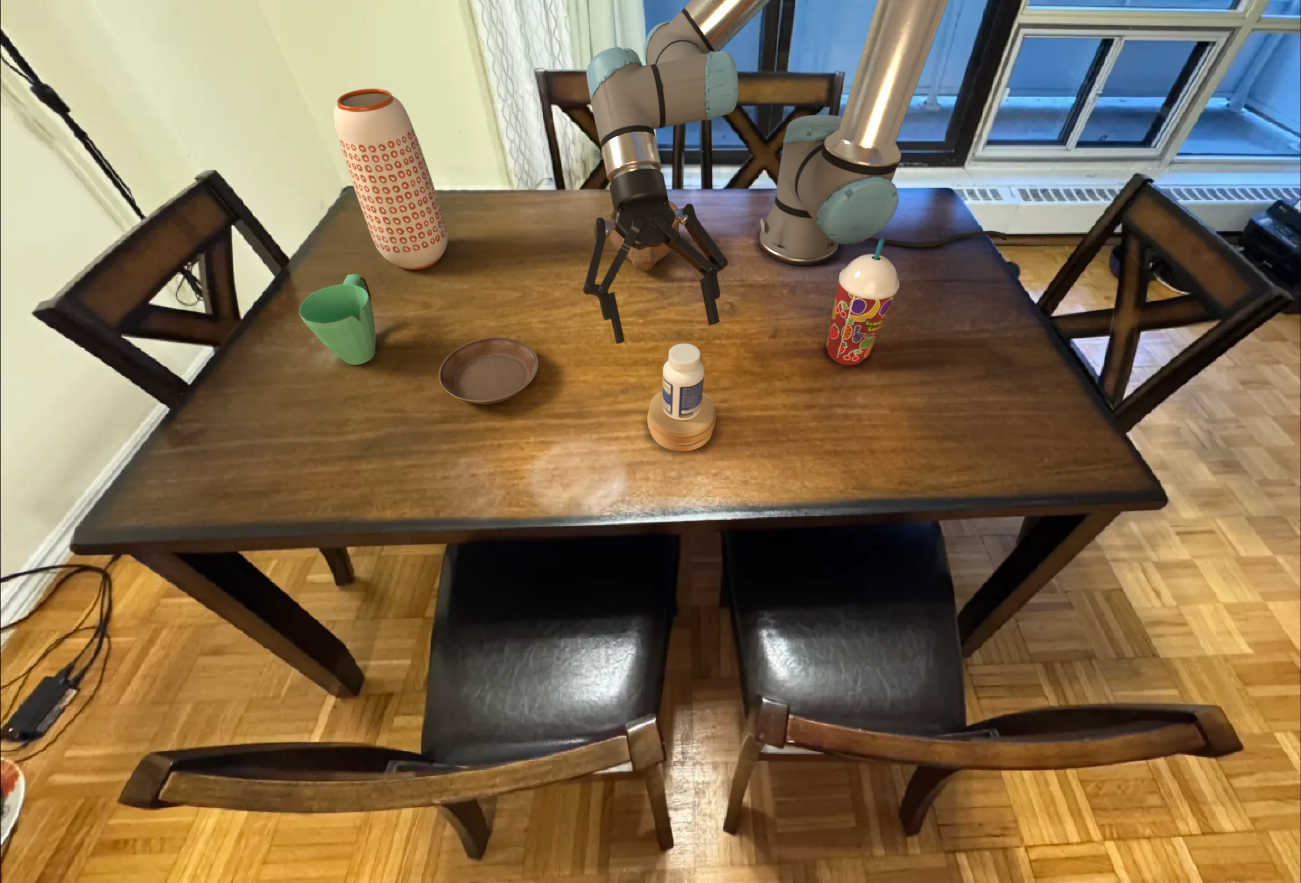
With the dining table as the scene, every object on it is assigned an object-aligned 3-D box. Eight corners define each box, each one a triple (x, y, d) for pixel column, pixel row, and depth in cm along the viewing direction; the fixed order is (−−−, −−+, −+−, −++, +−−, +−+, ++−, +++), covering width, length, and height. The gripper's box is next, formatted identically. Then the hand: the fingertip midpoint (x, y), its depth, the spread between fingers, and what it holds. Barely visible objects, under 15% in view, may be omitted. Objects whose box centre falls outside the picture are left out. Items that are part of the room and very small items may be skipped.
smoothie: (862, 378, 90) (903, 263, 75) (811, 359, 93) (841, 245, 78) (879, 348, 95) (921, 234, 80) (830, 331, 98) (862, 218, 83)
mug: (382, 374, 91) (357, 322, 84) (318, 376, 91) (288, 324, 84) (404, 316, 101) (384, 265, 93) (346, 318, 101) (322, 267, 93)
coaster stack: (709, 402, 87) (711, 382, 84) (718, 451, 81) (721, 431, 78) (645, 405, 87) (645, 386, 84) (649, 455, 80) (649, 435, 77)
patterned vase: (450, 235, 119) (405, 78, 98) (457, 269, 110) (410, 107, 89) (381, 246, 116) (320, 88, 95) (383, 282, 108) (317, 118, 87)
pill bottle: (705, 399, 82) (711, 344, 74) (695, 425, 78) (699, 371, 71) (669, 390, 83) (670, 335, 76) (656, 416, 80) (657, 361, 72)
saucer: (461, 346, 96) (456, 333, 94) (549, 352, 95) (547, 338, 93) (429, 410, 86) (423, 397, 84) (527, 418, 85) (524, 404, 83)
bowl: (701, 270, 107) (689, 222, 100) (629, 297, 109) (612, 252, 101) (678, 221, 119) (665, 175, 111) (613, 246, 120) (596, 202, 112)
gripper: (713, 175, 85) (742, 320, 87) (543, 201, 81) (577, 353, 82) (730, 152, 78) (761, 311, 80) (544, 179, 73) (581, 347, 75)
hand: (668, 333), depth 81 cm, fingers open, 13 cm apart
